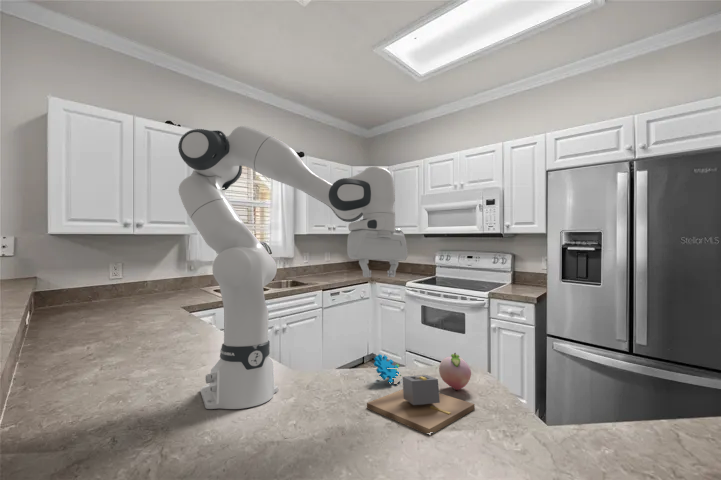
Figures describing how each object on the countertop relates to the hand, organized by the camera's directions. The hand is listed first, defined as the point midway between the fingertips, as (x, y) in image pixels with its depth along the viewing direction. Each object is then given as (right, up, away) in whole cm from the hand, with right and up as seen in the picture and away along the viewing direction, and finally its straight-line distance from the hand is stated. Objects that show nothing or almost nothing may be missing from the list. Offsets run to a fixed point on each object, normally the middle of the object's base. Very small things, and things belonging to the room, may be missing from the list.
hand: (379, 277), depth 86 cm
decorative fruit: (+21, -32, +2) cm, 38 cm away
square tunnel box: (+9, -28, -11) cm, 31 cm away
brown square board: (+9, -30, -10) cm, 33 cm away
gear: (+3, -33, +9) cm, 34 cm away
